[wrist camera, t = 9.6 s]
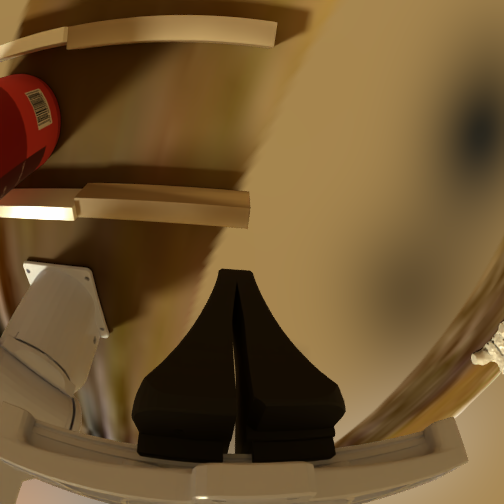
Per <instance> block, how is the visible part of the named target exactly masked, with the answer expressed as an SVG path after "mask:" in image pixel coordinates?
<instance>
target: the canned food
mask: <svg viewBox="0 0 504 504" xmlns="http://www.w3.org/2000/svg"><path fill="white" fill-rule="evenodd" d="M60 128H61V115H60V109H59V105H58V102H57V99H56V97H55V95H54V93H53V91H52V90H51V89H50V87H49V86H48V85H47V84H46V83H45V82H44V81H42V80H41V79H39V78H37V77H35V76H32V75H28V74H14V75H10V76H6V77H2V78H0V199H2V198H3V197H4V196H5V195H6V194H7V193H8V192H9V191H11V190H12V189H13V188H14V187H15V186H16V185H18V184H19V183H20V182H21V181H22V180H24V179H25V178H26V177H27V176H29V175H30V174H31V173H32V172H34V171H35V170H36V169H37V168H39V167H40V166H41V165H43V164H44V163H45V162H46V160H47V159H48V158H49V157H50V155H51V153H52V152H53V150H54V148H55V146H56V144H57V141H58V138H59V135H60Z"/></svg>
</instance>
